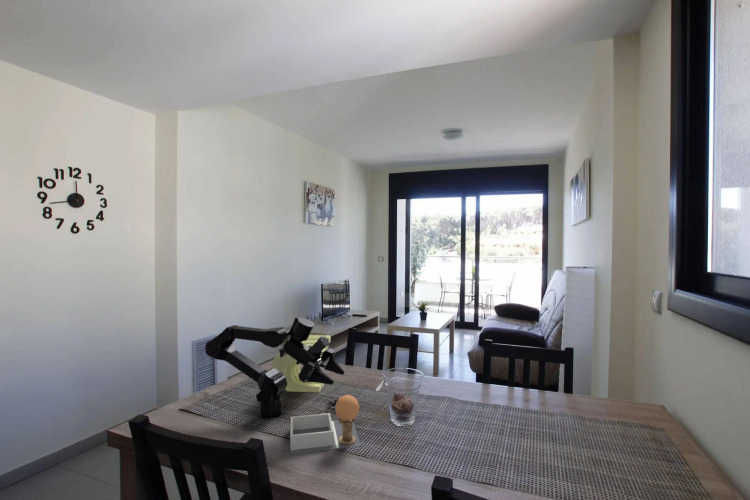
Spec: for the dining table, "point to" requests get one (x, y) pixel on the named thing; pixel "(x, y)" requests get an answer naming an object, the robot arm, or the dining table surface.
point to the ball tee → (347, 432)
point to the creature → (332, 404)
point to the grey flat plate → (337, 434)
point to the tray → (311, 438)
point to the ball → (347, 408)
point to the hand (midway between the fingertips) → (338, 378)
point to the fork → (379, 386)
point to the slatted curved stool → (297, 369)
